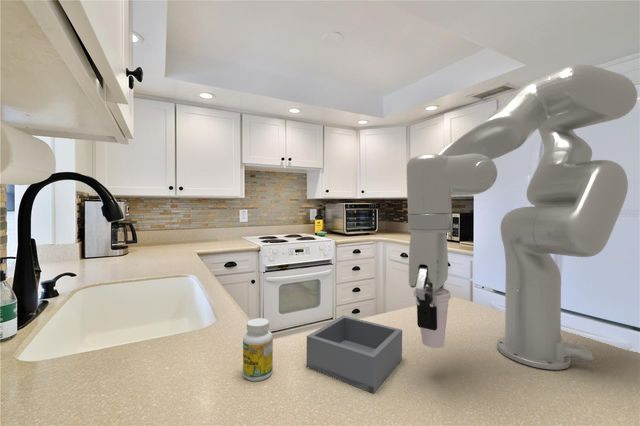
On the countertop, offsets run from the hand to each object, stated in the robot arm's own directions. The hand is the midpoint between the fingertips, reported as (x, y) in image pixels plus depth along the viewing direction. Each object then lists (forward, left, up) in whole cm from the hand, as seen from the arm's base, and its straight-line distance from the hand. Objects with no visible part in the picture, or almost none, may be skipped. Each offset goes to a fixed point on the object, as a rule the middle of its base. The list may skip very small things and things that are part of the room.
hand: (432, 320), depth 53 cm
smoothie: (0, 0, -4) cm, 4 cm away
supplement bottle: (+27, +18, -11) cm, 34 cm away
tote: (+14, +4, -10) cm, 18 cm away
